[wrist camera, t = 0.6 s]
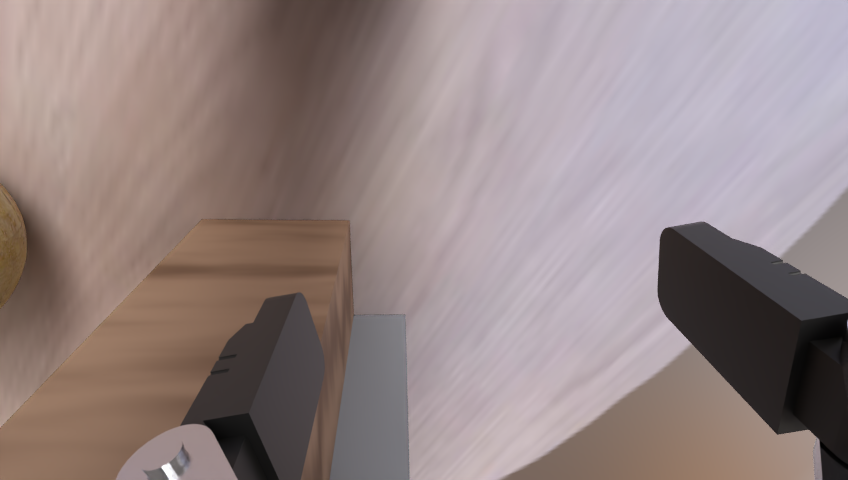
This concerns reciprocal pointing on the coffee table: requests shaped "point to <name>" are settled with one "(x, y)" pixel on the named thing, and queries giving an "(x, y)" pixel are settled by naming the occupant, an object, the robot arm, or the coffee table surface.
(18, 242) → the fossilized egg
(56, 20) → the coffee table surface
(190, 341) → the walnut post
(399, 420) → the grey rectangular block
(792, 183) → the coffee table surface
